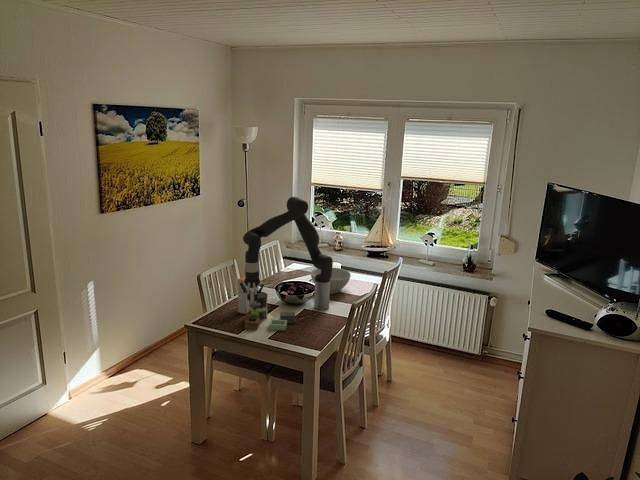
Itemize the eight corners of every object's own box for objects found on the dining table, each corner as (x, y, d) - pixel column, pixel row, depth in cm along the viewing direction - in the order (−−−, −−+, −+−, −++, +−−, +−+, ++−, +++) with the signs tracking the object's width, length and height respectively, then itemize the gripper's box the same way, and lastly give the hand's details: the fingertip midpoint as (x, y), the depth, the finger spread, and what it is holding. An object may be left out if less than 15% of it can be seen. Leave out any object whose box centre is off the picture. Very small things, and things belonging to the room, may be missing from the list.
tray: (270, 324, 257) (271, 319, 256) (287, 325, 257) (287, 320, 256) (268, 329, 250) (268, 324, 250) (285, 330, 250) (285, 325, 249)
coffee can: (262, 322, 258) (262, 299, 255) (246, 319, 262) (245, 296, 258) (270, 316, 268) (270, 293, 264) (254, 313, 271) (254, 290, 268)
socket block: (247, 323, 257) (247, 316, 256) (259, 324, 256) (259, 317, 255) (244, 329, 250) (244, 322, 249) (257, 329, 250) (257, 322, 249)
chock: (280, 318, 265) (280, 311, 264) (294, 318, 266) (294, 311, 265) (280, 323, 259) (280, 315, 258) (295, 323, 260) (295, 315, 259)
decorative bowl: (350, 298, 299) (351, 280, 296) (309, 296, 299) (309, 279, 296) (349, 284, 325) (349, 268, 322) (310, 282, 325) (311, 266, 322)
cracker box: (250, 304, 283) (250, 272, 278) (259, 306, 281) (259, 273, 276) (237, 312, 271) (237, 278, 266) (246, 314, 268) (245, 280, 263)
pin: (250, 305, 252) (250, 290, 250) (255, 305, 252) (255, 290, 249) (249, 307, 249) (249, 292, 247) (254, 307, 249) (254, 292, 247)
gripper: (266, 268, 248) (266, 298, 253) (240, 266, 249) (241, 296, 253) (264, 272, 241) (264, 303, 245) (237, 271, 242) (238, 302, 246)
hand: (252, 299), depth 249 cm, fingers closed on pin, 2 cm apart
